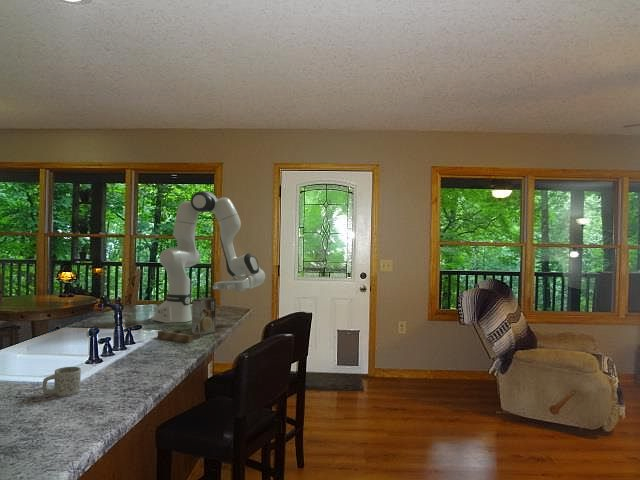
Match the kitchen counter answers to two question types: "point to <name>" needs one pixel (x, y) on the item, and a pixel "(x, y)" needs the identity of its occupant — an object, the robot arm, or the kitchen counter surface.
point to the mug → (64, 382)
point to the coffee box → (203, 315)
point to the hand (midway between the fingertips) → (219, 287)
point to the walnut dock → (177, 336)
